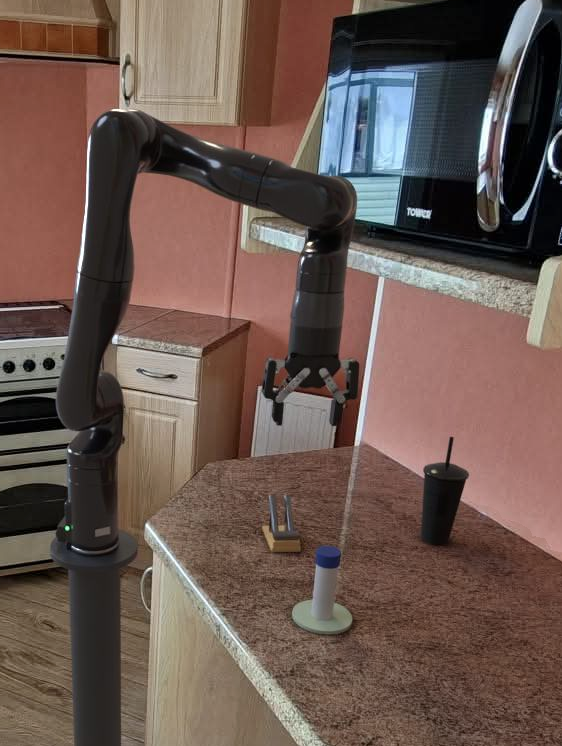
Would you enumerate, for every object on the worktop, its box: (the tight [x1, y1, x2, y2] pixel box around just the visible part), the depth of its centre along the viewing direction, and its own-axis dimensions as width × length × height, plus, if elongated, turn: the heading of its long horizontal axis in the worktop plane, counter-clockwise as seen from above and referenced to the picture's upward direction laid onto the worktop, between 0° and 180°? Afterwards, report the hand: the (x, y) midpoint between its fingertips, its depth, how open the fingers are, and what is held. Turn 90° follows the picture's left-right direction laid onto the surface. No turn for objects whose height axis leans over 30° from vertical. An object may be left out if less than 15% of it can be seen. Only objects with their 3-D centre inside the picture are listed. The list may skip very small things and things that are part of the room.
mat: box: [291, 599, 353, 635], centre depth 121 cm, size 9×9×1 cm
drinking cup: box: [420, 436, 470, 546], centre depth 142 cm, size 8×8×20 cm
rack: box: [261, 493, 302, 553], centre depth 144 cm, size 9×5×8 cm, turn 2°
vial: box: [311, 545, 342, 620], centre depth 119 cm, size 10×4×10 cm
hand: (305, 424), depth 123 cm, fingers open, 8 cm apart
